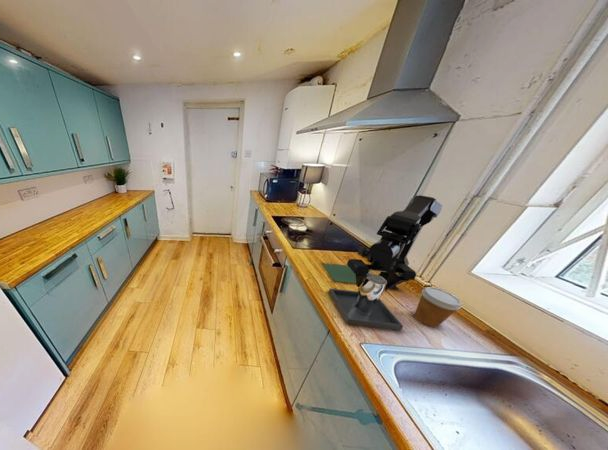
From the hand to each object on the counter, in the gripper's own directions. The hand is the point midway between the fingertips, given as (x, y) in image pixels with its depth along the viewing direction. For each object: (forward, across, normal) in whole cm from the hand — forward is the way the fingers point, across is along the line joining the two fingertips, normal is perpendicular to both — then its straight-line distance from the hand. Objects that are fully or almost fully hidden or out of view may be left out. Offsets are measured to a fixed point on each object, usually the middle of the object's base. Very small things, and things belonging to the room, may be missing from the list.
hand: (371, 287), depth 72 cm
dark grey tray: (+11, 0, 0) cm, 11 cm away
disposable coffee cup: (+11, -22, +1) cm, 25 cm away
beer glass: (+11, 0, 0) cm, 11 cm away
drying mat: (+11, -5, -23) cm, 26 cm away
